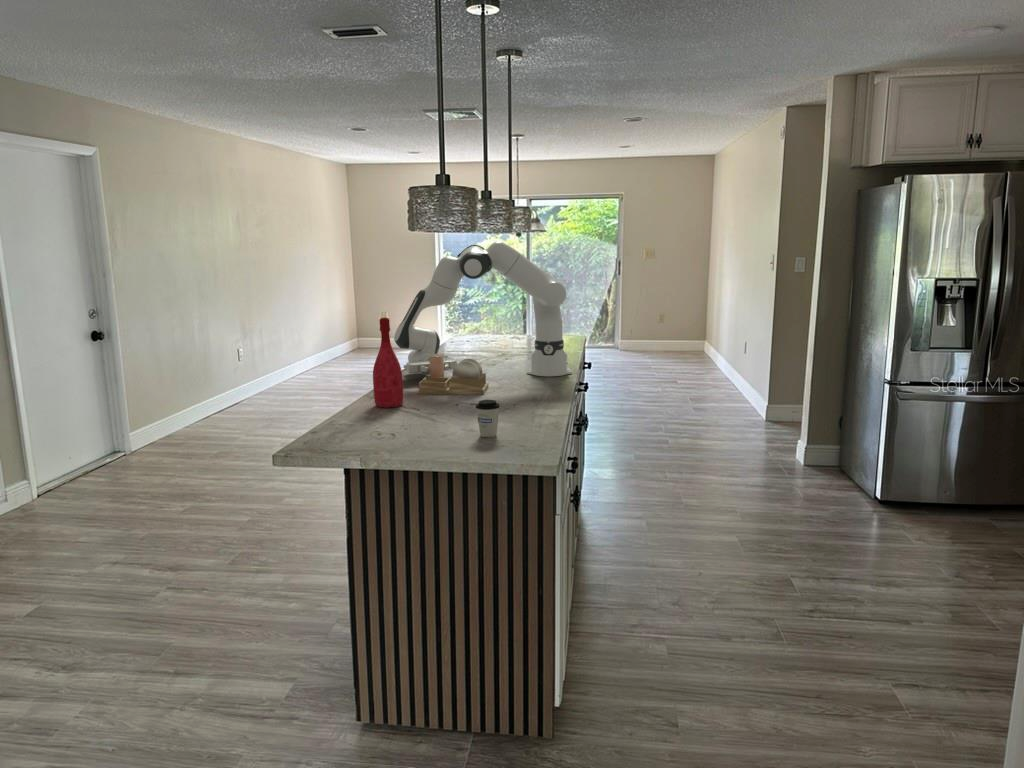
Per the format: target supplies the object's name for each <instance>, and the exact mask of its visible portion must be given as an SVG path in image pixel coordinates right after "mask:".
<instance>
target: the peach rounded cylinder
mask: <svg viewBox="0 0 1024 768" xmlns="http://www.w3.org/2000/svg"><path fill="white" fill-rule="evenodd" d="M429 364H430V375H429V377H445V371H444V359H443V355H431V356H429Z"/></svg>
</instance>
